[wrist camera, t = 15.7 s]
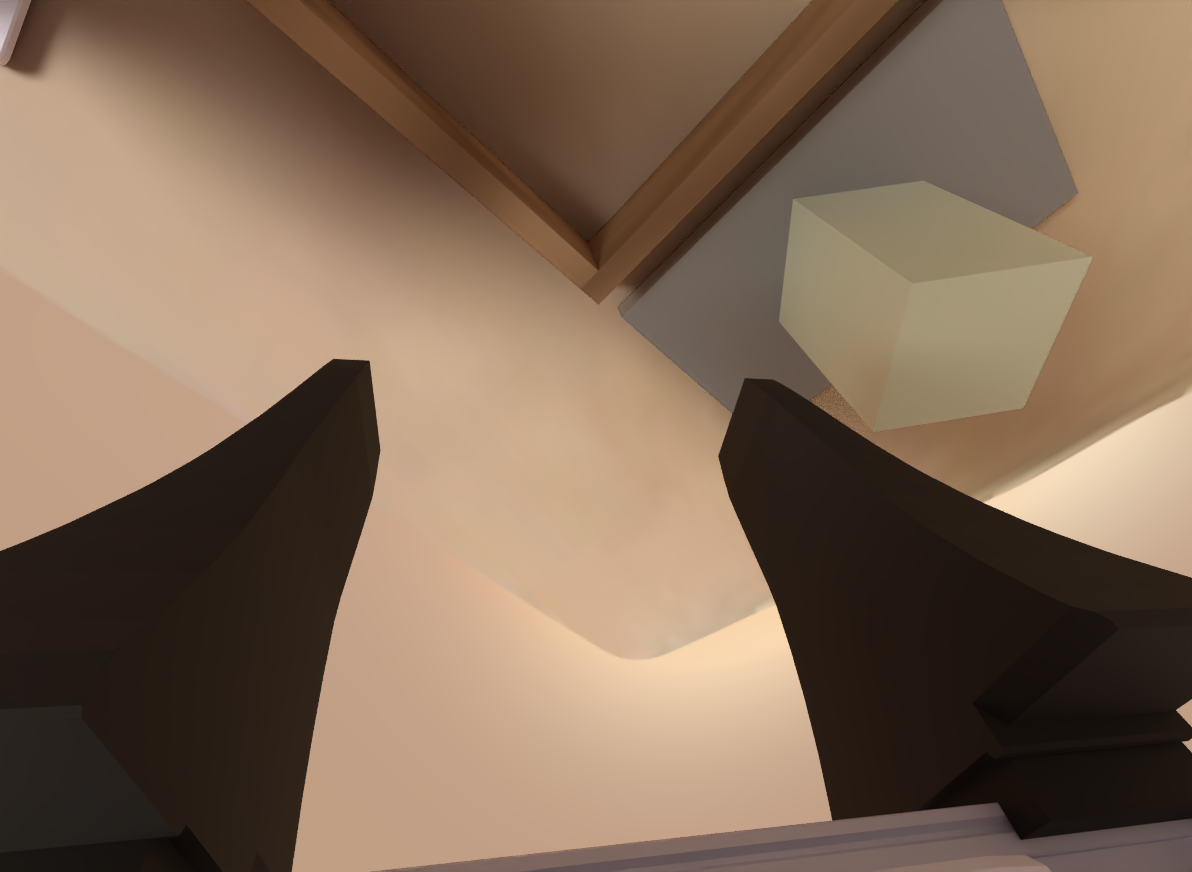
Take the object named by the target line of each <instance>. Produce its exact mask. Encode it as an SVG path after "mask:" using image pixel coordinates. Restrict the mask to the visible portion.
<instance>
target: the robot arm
mask: <svg viewBox="0 0 1192 872" xmlns="http://www.w3.org/2000/svg"><path fill="white" fill-rule="evenodd" d="M30 3H31V0H0V66H3V65H6V64H7V62H8V61H9V60H10V58H11V55H12V52H13V49H14V47H15V44H16V41H17V38H18V36H19V33H20V30H21V27H22V25H23V22H24V19H25V16H26V14H27V11H28V8H29V5H30ZM379 455H380V443H379V435H378V427H377V419H376V410H375V402H374V394H373V386H372V377H371V369H370V361H365V360H343V359H333V360H331V361H330V362H329V363H327V364H326V365H324V366H323V367H322V368H321V369H319V370H318V371H317V372H316V373H314V374H313V375H312V376H311V377H309V378H308V379H307V380H306V381H304V382H303V383H302V384H301V385H299V386H298V387H297V388H295V389H294V390H293V391H292V392H290V393H289V394H288V395H286V396H285V397H284V398H282V399H281V400H280V401H279V402H277V403H276V404H275V405H273V406H272V407H271V408H269V409H268V410H267V411H265V412H264V413H263V414H261V415H260V416H259V417H257V418H256V419H254V420H253V421H251V422H250V423H248V424H247V425H245V426H244V427H243V428H241V429H240V430H238V431H237V432H235V433H234V434H232V435H231V436H229V437H228V438H227V439H225V440H224V441H222V442H221V443H219V444H218V445H216V446H215V447H213V448H212V449H210V450H208V451H207V452H205V453H204V454H202V455H200V456H199V457H197V458H195V459H194V460H192V461H191V462H189V463H187V464H185V465H183V466H182V467H180V468H178V469H176V470H174V471H173V472H171V473H169V474H168V475H165V476H164V477H162V478H160V479H158V480H157V481H155V482H153V483H151V484H149V485H147V486H145V487H143V488H141V489H139V490H137V491H135V492H133V493H131V494H129V495H127V496H125V497H123V498H121V499H118V500H116V501H114V502H112V503H110V504H108V505H106V506H104V507H102V508H99V509H97V510H96V511H93V512H91V513H89V514H87V515H85V516H83V517H80V518H79V519H76V520H74V521H72V522H70V523H68V524H65V525H63V526H61V527H59V528H56V529H54V530H51V531H49V532H46V533H44V534H42V535H39V536H37V537H34V538H32V539H30V540H27V541H25V542H22V543H20V544H18V545H15V546H12V547H10V548H7V549H5V550H2V551H0V872H292V865H293V858H294V851H295V845H296V838H297V831H298V824H299V817H300V810H301V803H302V797H303V791H304V784H305V779H306V772H307V766H308V760H309V754H310V748H311V742H312V736H313V730H314V725H315V719H316V714H317V708H318V702H319V697H320V692H321V685H322V681H323V675H324V670H325V665H326V660H327V655H328V650H329V645H330V640H331V634H332V630H333V625H334V620H335V617H336V613H337V609H338V605H339V602H340V597H341V595H342V592H343V588H344V585H345V582H346V579H347V576H348V573H349V569H350V567H351V563H352V560H353V557H354V554H355V551H356V548H357V544H358V541H359V538H360V535H361V532H362V529H363V526H364V522H365V519H366V516H367V513H368V509H369V506H370V503H371V500H372V496H373V491H374V486H375V480H376V474H377V468H378V461H379ZM718 457H719V461H720V465H721V469H722V473H723V477H724V481H725V484H726V487H727V491H728V494H729V498H730V500H731V502H732V505H733V507H734V509H735V512H736V514H737V516H738V519H739V521H740V523H741V526H742V528H743V530H744V532H745V535H746V537H747V539H748V541H749V543H750V546H751V548H752V550H753V552H754V555H755V557H756V559H757V561H758V563H759V566H760V568H761V570H762V572H763V575H764V577H765V579H766V581H767V584H768V586H769V588H770V591H771V593H772V596H773V598H774V601H775V603H776V606H777V608H778V612H779V614H780V618H781V621H782V624H783V627H784V630H785V633H786V637H787V639H788V643H789V646H790V649H791V652H792V656H793V660H794V663H795V666H796V670H797V673H798V677H799V680H800V684H801V688H802V691H803V695H804V698H805V702H806V706H807V710H808V714H809V718H810V722H811V726H812V730H813V734H814V738H815V742H816V746H817V750H818V754H819V759H820V764H821V768H822V773H823V778H824V782H825V787H826V792H827V797H828V801H829V806H830V811H831V816H832V821H826V822H816V823H807V824H798V825H789V826H780V827H771V828H762V829H753V830H744V831H735V832H725V833H716V834H707V835H698V836H690V837H680V838H672V839H662V840H653V841H644V842H636V843H626V844H617V845H608V846H599V847H590V848H581V849H572V850H563V851H554V852H545V853H536V854H527V855H518V856H509V857H500V858H491V859H482V860H473V861H463V862H454V863H446V864H436V865H428V866H418V867H410V868H401V869H392V870H382V871H373V872H1192V753H1191V751H1190V750H1189V749H1188V748H1187V747H1186V746H1185V745H1184V744H1183V743H1182V741H1189V740H1190V739H1191V738H1192V727H1191V726H1190V725H1189V724H1188V723H1187V722H1186V721H1185V720H1184V718H1182V716H1181V715H1180V714H1179V713H1178V712H1177V711H1176V709H1178V708H1179V707H1181V706H1182V705H1184V704H1185V703H1187V702H1188V701H1189V700H1191V699H1192V578H1191V577H1187V576H1184V575H1181V574H1178V573H1174V572H1171V571H1168V570H1165V569H1161V568H1158V567H1155V566H1151V565H1148V564H1145V563H1141V562H1138V561H1135V560H1132V559H1129V558H1125V557H1122V556H1118V555H1116V554H1113V553H1110V552H1106V551H1104V550H1101V549H1098V548H1095V547H1092V546H1090V545H1087V544H1084V543H1081V542H1079V541H1076V540H1073V539H1070V538H1068V537H1065V536H1062V535H1059V534H1056V533H1054V532H1051V531H1049V530H1046V529H1044V528H1041V527H1038V526H1036V525H1034V524H1031V523H1029V522H1026V521H1024V520H1021V519H1019V518H1016V517H1015V516H1012V515H1010V514H1008V513H1005V512H1003V511H1001V510H998V509H996V508H993V507H991V506H989V505H987V504H984V503H982V502H980V501H978V500H976V499H974V498H972V497H970V496H967V495H965V494H963V493H961V492H959V491H957V490H955V489H954V488H952V487H950V486H948V485H946V484H944V483H942V482H940V481H938V480H936V479H934V478H932V477H930V476H928V475H926V474H924V473H923V472H921V471H919V470H917V469H915V468H914V467H912V466H910V465H908V464H907V463H905V462H903V461H902V460H900V459H898V458H897V457H895V456H893V455H892V454H890V453H888V452H887V451H885V450H883V449H882V448H880V447H878V446H877V445H875V444H874V443H872V442H870V441H869V440H867V439H866V438H864V437H863V436H861V435H859V434H858V433H856V432H855V431H853V430H852V429H850V428H849V427H847V426H846V425H844V424H843V423H841V422H840V421H838V420H837V419H835V418H834V417H832V416H831V415H829V414H828V413H826V412H825V411H823V410H822V409H820V408H819V407H817V406H816V405H814V404H813V403H811V402H810V401H808V400H807V399H805V398H804V397H802V396H801V395H799V394H798V393H796V392H794V391H793V390H791V389H789V388H788V387H786V386H784V385H783V384H781V383H779V382H777V381H775V380H773V379H754V378H745V379H744V382H743V385H742V388H741V391H740V394H739V397H738V399H737V402H736V405H735V408H734V411H733V414H732V417H731V420H730V423H729V426H728V429H727V432H726V435H725V438H724V441H723V444H722V447H721V450H720V453H719V456H718Z"/></svg>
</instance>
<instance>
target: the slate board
mask: <svg viewBox="0 0 1192 872" xmlns="http://www.w3.org/2000/svg"><path fill="white" fill-rule="evenodd" d="M917 181H926V182H928V183H930V184H932V185H935V186H937V187H939V188H941V189H943V190H946V191H948V192H950V193H952V194H955V195H957V196H959V197H961V198H964V199H966V200H968V201H970V202H973V203H975V204H977V205H979V206H981V207H984V208H986V209H988V210H990V211H993V212H995V213H997V214H999V215H1002V216H1004V217H1006V218H1008V219H1011V220H1013V221H1015V222H1017V223H1019V224H1022V225H1024V226H1026V227H1028V228H1031V229H1032V228H1033V227H1035V226H1036V225H1037V224H1038V223H1040V222H1041V221H1042V220H1044V219H1045V218H1046V217H1047V216H1049V215H1050V214H1051V213H1053V212H1054V211H1055V210H1057V209H1058V208H1059V207H1060V206H1062V205H1063V204H1064V203H1066V202H1067V201H1068V200H1069V199H1071V198H1072V197H1073V196H1075V195H1076V194H1077V193H1078V191H1077V189H1076V186H1075V184H1074V181H1073V179H1072V176H1071V174H1070V171H1069V169H1068V166H1067V164H1066V161H1065V159H1064V156H1063V154H1062V151H1061V149H1060V146H1059V144H1058V141H1057V139H1056V136H1055V133H1054V131H1053V128H1052V126H1051V123H1050V121H1049V118H1048V116H1047V113H1046V111H1045V108H1044V106H1043V103H1042V101H1041V98H1040V96H1039V93H1038V91H1037V88H1036V86H1035V83H1034V81H1033V78H1032V76H1031V73H1030V71H1029V68H1028V66H1027V63H1026V61H1025V58H1024V56H1023V53H1022V50H1021V48H1020V45H1019V43H1018V40H1017V38H1016V35H1015V33H1014V30H1013V28H1012V25H1011V23H1010V20H1009V18H1008V15H1007V13H1006V10H1005V8H1004V5H1003V3H1002V0H926V1H925V2H924V3H923V4H922V5H921V6H920V7H919V8H918V9H917V10H916V11H915V12H914V13H913V14H912V15H911V16H910V17H909V18H908V19H907V20H906V21H905V22H904V23H903V24H902V25H901V26H900V27H899V28H898V29H897V30H896V31H895V32H894V33H893V34H892V35H891V36H890V37H889V38H888V39H887V40H886V41H885V42H884V43H883V44H882V45H881V46H880V47H879V48H878V49H877V50H876V51H875V52H874V53H873V54H872V55H871V56H870V57H869V58H868V59H867V60H866V61H865V62H864V63H863V64H862V65H861V66H860V67H859V68H858V69H857V70H856V71H855V72H854V73H853V74H852V75H851V76H850V77H849V78H848V79H847V80H846V81H845V82H844V83H843V84H842V85H841V86H840V87H839V88H838V89H837V90H836V91H835V92H834V93H833V94H832V95H831V96H830V97H829V98H828V99H827V100H826V101H825V102H824V103H823V104H822V105H821V106H820V107H819V108H818V109H817V110H816V111H815V112H814V113H813V114H812V115H811V116H810V117H809V118H808V119H807V120H806V121H805V122H804V123H803V124H802V125H801V126H800V127H799V128H798V129H797V130H796V131H795V132H794V133H793V134H792V135H791V136H790V137H789V138H788V139H787V140H786V141H785V142H784V143H783V144H782V145H781V146H780V147H779V148H778V149H777V150H776V151H775V152H774V153H773V154H772V155H771V156H770V157H769V158H768V159H767V160H766V161H765V162H764V163H763V164H762V165H760V166H759V167H758V168H757V169H756V170H755V171H754V172H753V173H752V174H751V175H750V176H749V177H748V178H747V179H746V180H745V181H744V182H743V183H742V184H741V185H740V186H739V187H738V188H737V189H736V190H735V191H734V192H733V193H732V194H731V195H730V196H729V197H728V198H727V199H726V200H725V201H724V202H723V203H722V204H721V205H720V206H719V207H718V208H717V209H716V210H715V211H714V212H713V213H712V214H711V215H710V216H709V217H708V218H707V219H706V220H705V221H704V222H703V223H702V224H701V225H700V226H699V227H698V228H697V229H696V230H695V231H694V232H693V233H692V234H691V235H690V236H689V237H688V238H687V239H686V240H685V241H684V242H683V243H682V244H681V245H680V246H679V247H678V248H677V249H676V250H675V251H674V252H673V253H672V254H671V255H670V256H669V257H668V258H667V259H666V260H665V261H664V262H663V263H662V264H661V265H660V266H659V267H658V268H657V269H656V270H655V271H654V272H653V273H652V274H651V275H650V276H649V277H648V278H647V279H646V280H645V281H644V282H643V283H642V284H641V285H640V286H639V287H638V288H637V289H636V290H635V291H634V292H633V293H632V294H631V295H630V296H629V297H628V298H627V299H626V300H625V301H624V302H623V303H622V304H621V305H620V306H619V307H618V309H619V311H620V314H621V317H622V318H624V319H625V320H626V321H627V322H628V323H629V324H630V325H632V326H633V327H634V328H635V329H636V330H637V331H638V332H640V333H641V334H642V335H643V336H644V337H645V338H647V339H648V340H649V341H650V342H651V343H652V344H653V345H655V346H656V347H657V348H658V349H659V350H660V351H661V352H663V353H664V354H665V355H666V356H667V357H668V358H669V359H671V360H672V361H673V362H674V363H675V364H676V365H677V366H679V367H680V368H681V369H682V370H683V371H684V372H685V373H687V374H688V375H689V376H690V377H691V378H692V379H694V380H695V381H696V382H697V383H698V384H699V385H700V386H702V387H703V388H704V389H705V390H706V391H707V392H708V393H710V394H711V395H712V396H713V397H714V398H715V399H716V400H718V401H719V402H720V403H721V404H722V405H723V406H724V407H726V408H727V409H728V410H729V411H730V412H731V413H732V414H733V411H734V408H735V405H736V402H737V399H738V397H739V394H740V391H741V388H742V385H743V382H744V379H745V378H754V379H773V380H775V381H777V382H779V383H781V384H783V385H784V386H786V387H788V388H789V389H791V390H793V391H794V392H796V393H798V394H799V395H801V396H802V397H804V398H805V399H807V400H808V401H810V400H811V399H812V398H814V397H815V396H816V395H817V394H819V393H820V392H821V391H823V390H824V389H825V388H826V387H828V386H829V385H830V384H831V383H830V381H829V380H828V379H827V378H826V377H825V376H824V374H823V373H822V372H821V371H820V370H819V368H818V367H817V366H816V365H815V364H814V362H813V361H812V360H811V359H810V358H809V357H808V355H807V354H806V353H805V352H804V351H803V349H802V348H801V347H800V346H799V345H798V344H797V342H796V341H795V340H794V339H793V338H792V336H791V335H790V334H789V333H788V332H787V330H786V329H785V328H784V327H783V326H782V325H781V323H780V322H779V315H780V307H781V298H782V290H783V281H784V272H785V264H786V255H787V247H788V238H789V230H790V221H791V212H792V204H793V199H797V198H804V197H811V196H818V195H825V194H832V193H839V192H846V191H853V190H860V189H867V188H874V187H881V186H888V185H896V184H903V183H910V182H917Z"/></svg>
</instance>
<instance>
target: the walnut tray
mask: <svg viewBox="0 0 1192 872" xmlns="http://www.w3.org/2000/svg"><path fill="white" fill-rule="evenodd" d="M246 1H247V2H249V3H250V4H251V5H252V6H253V7H254V8H256V9H257V10H258V11H259V12H260V13H261V14H263V15H264V16H265V17H266V18H267V19H268V20H269V21H271V22H272V23H273V24H274V25H275V26H276V27H278V28H279V29H280V30H281V31H282V32H283V33H285V34H286V35H287V36H288V37H289V38H290V39H291V40H293V41H294V42H295V43H296V44H297V45H298V46H300V47H301V48H302V49H303V50H304V51H305V52H307V53H308V54H309V55H310V56H311V57H312V58H314V59H315V60H316V61H317V62H318V63H319V64H320V65H322V66H323V67H324V68H325V69H326V70H327V71H329V72H330V73H331V74H332V75H333V76H334V77H336V78H337V79H338V80H339V81H340V82H341V83H342V84H344V85H345V86H346V87H347V88H348V89H349V90H351V91H352V92H353V93H354V94H355V95H356V96H358V97H359V98H360V99H361V100H362V101H363V102H365V103H366V104H367V105H368V106H369V107H370V108H371V109H373V110H374V111H375V112H376V113H377V114H378V115H380V116H381V117H382V118H383V119H384V120H385V121H387V122H388V123H389V124H390V125H391V126H392V127H394V128H395V129H396V130H397V131H398V132H399V133H400V134H402V135H403V136H404V137H405V138H406V139H407V140H409V141H410V142H411V143H412V144H413V145H414V146H416V147H417V148H418V149H419V150H420V151H421V152H422V153H424V154H425V155H426V156H427V157H428V158H429V159H431V160H432V161H433V162H434V163H435V164H436V165H438V166H439V167H440V168H441V169H442V170H443V171H445V172H446V173H447V174H448V175H449V176H450V177H451V178H453V179H454V180H455V181H456V182H457V183H458V184H460V185H461V186H462V187H463V188H464V189H465V190H467V191H468V192H469V193H470V194H471V195H472V196H473V197H475V198H476V199H477V200H478V201H479V202H480V203H482V204H483V205H484V206H485V207H486V208H487V209H489V210H490V211H491V212H492V213H493V214H494V215H496V216H497V217H498V218H499V219H500V220H501V221H502V222H504V223H505V224H506V225H507V226H508V227H509V228H511V229H512V230H513V231H514V232H515V233H516V234H518V235H519V236H520V237H521V238H522V239H523V240H525V241H526V242H527V243H528V244H529V245H530V246H531V247H533V248H534V249H535V250H536V251H537V252H538V253H540V254H541V255H542V256H543V257H544V258H545V259H547V260H548V261H549V262H550V263H551V264H552V265H553V266H555V267H556V268H557V269H558V270H559V271H560V272H562V273H563V274H564V275H565V276H566V277H567V278H569V279H570V280H571V281H572V282H573V283H574V284H576V285H577V286H578V287H579V288H580V289H581V290H582V291H584V292H585V293H586V294H587V295H588V296H589V297H591V298H592V299H593V300H594V301H595V302H596V303H598V304H600V303H601V302H602V301H603V300H604V299H605V298H606V297H607V296H608V295H609V293H610V292H611V291H612V290H613V289H614V288H615V287H616V286H617V285H618V284H619V283H620V282H621V281H622V280H623V279H624V278H625V277H626V276H627V275H628V274H629V273H630V272H631V271H632V270H633V269H634V268H635V267H636V266H637V265H638V264H639V263H640V262H641V261H642V260H643V259H644V258H645V257H646V256H647V255H648V254H649V253H650V252H651V251H652V250H653V249H654V248H655V247H656V246H657V245H658V244H659V243H660V242H661V241H662V240H663V239H664V238H665V237H666V236H667V235H668V234H669V233H670V232H671V231H672V230H673V229H674V228H675V227H676V225H677V224H678V223H679V222H680V221H681V220H682V219H683V218H684V217H685V216H686V215H687V214H688V213H689V212H690V211H691V210H692V209H693V208H694V207H695V206H696V205H697V204H698V203H699V202H700V201H701V200H702V199H703V198H704V197H705V196H706V195H707V194H708V193H709V192H710V191H711V190H712V189H713V188H714V187H715V186H716V185H717V184H718V183H719V182H720V181H721V180H722V179H723V178H724V177H725V176H726V175H727V174H728V173H729V172H730V171H731V170H732V169H733V168H734V167H735V166H736V165H737V164H738V163H739V162H740V161H741V160H742V159H743V157H744V156H745V155H746V154H747V153H748V152H749V151H750V150H751V149H752V148H753V147H754V146H755V145H756V144H757V143H758V142H759V141H760V140H761V139H762V138H763V137H764V136H765V135H766V134H767V133H768V132H769V131H770V130H771V129H772V128H773V127H774V126H775V125H776V124H777V123H778V122H779V121H780V120H781V119H782V118H783V117H784V116H785V115H786V114H787V113H788V112H789V111H790V110H791V109H792V108H793V107H794V106H795V105H796V104H797V103H798V102H799V101H800V100H801V99H802V98H803V97H804V96H805V95H806V94H807V93H808V92H809V90H810V89H811V88H812V87H813V86H814V85H815V84H816V83H817V82H818V81H819V80H820V79H821V78H822V77H823V76H824V75H825V74H826V73H827V72H828V71H829V70H830V69H831V68H832V67H833V66H834V65H835V64H836V63H837V62H838V61H839V60H840V59H841V58H842V57H843V56H844V55H845V54H846V53H847V52H848V51H849V50H850V49H851V48H852V47H853V46H854V45H855V44H856V43H857V42H858V41H859V40H860V39H861V38H862V37H863V36H864V35H865V34H866V33H867V32H868V31H869V30H870V29H871V28H872V27H873V26H874V25H875V24H876V22H877V21H878V20H879V19H880V18H881V17H882V16H883V15H884V14H885V13H886V12H887V11H888V10H889V9H890V8H891V7H892V6H893V5H894V4H895V3H896V2H897V1H898V0H813V1H812V2H811V3H810V4H809V5H808V6H807V7H806V8H805V9H804V10H803V12H802V13H801V14H800V15H799V16H798V17H797V18H796V19H795V20H794V21H793V22H792V23H791V25H790V26H789V27H788V28H787V29H786V30H785V31H784V32H783V33H782V34H781V35H780V36H779V38H778V39H777V40H776V41H775V42H774V43H773V44H772V45H771V46H770V47H769V48H768V49H767V51H766V52H765V53H764V54H763V55H762V56H761V57H760V58H759V59H758V60H757V61H756V62H755V63H754V65H753V66H752V67H751V68H750V69H749V70H748V71H747V72H746V73H745V74H744V75H743V76H742V78H741V79H740V80H739V81H738V82H737V83H736V84H735V85H734V86H733V87H732V88H731V89H730V91H729V92H728V93H727V94H726V95H725V96H724V97H723V98H722V99H721V100H720V101H719V102H718V104H717V105H716V106H715V107H714V108H713V109H712V110H711V111H710V112H709V113H708V114H707V115H706V117H705V118H704V119H703V120H702V121H701V122H700V123H699V124H698V125H697V126H696V127H695V128H694V130H693V131H692V132H691V133H690V134H689V135H688V136H687V137H686V138H685V139H684V140H683V141H682V142H681V144H680V145H679V146H678V147H677V148H676V149H675V150H674V151H673V152H672V153H671V154H670V155H669V157H668V158H667V159H666V160H665V161H664V162H663V163H662V164H661V165H660V166H659V167H658V168H657V170H656V171H655V172H654V173H653V174H652V175H651V176H650V177H649V178H648V179H647V180H646V181H645V183H644V184H643V185H642V186H641V187H640V188H639V189H638V190H637V191H636V192H635V193H634V194H633V196H632V197H631V198H630V199H629V200H628V201H627V202H626V203H625V204H624V205H623V206H622V207H621V209H620V210H619V211H618V212H617V213H616V214H615V215H614V216H613V217H612V218H611V219H610V220H609V222H608V223H607V224H606V225H605V226H604V227H603V228H602V229H601V230H600V231H599V232H598V233H597V234H596V236H595V237H594V238H593V239H592V240H591V241H590V242H589V243H588V242H587V241H586V240H585V239H584V238H583V237H582V236H581V235H579V234H578V233H577V232H576V231H575V230H574V229H573V228H572V227H571V226H570V225H569V224H568V223H567V222H565V221H564V220H563V219H562V218H561V217H560V216H559V215H558V214H557V213H556V212H555V211H554V210H553V209H551V208H550V207H549V206H548V205H547V204H546V203H545V202H544V201H543V200H542V199H541V198H540V197H539V196H537V195H536V194H535V193H534V192H533V191H532V190H531V189H530V188H529V187H528V186H527V185H526V184H525V183H523V182H522V181H521V180H520V179H519V178H518V177H517V176H516V175H515V174H514V173H513V172H512V171H510V170H509V169H508V168H507V167H506V166H505V165H504V164H503V163H502V162H501V161H500V160H499V159H498V158H496V157H495V156H494V155H493V154H492V153H491V152H490V151H489V150H488V149H487V148H486V147H485V146H484V145H482V144H481V143H480V142H479V141H478V140H477V139H476V138H475V137H474V136H473V135H472V134H471V133H470V132H468V131H467V130H466V129H465V128H464V127H463V126H462V125H461V124H460V123H459V122H458V121H457V120H456V119H454V118H453V117H452V116H451V115H450V114H449V113H448V112H447V111H446V110H445V109H444V108H443V107H442V106H440V105H439V104H438V103H437V102H436V101H435V100H434V99H433V98H432V97H431V96H430V95H429V94H428V93H426V92H425V91H424V90H423V89H422V88H421V87H420V86H419V85H418V84H417V83H416V82H415V81H414V80H412V79H411V78H410V77H409V76H408V75H407V74H406V73H405V72H404V71H403V70H402V69H401V68H400V67H398V66H397V65H396V64H395V63H394V62H393V61H392V60H391V59H390V58H389V57H388V56H387V55H386V54H384V53H383V52H382V51H381V50H380V49H379V48H378V47H377V46H376V45H375V44H374V43H373V42H371V41H370V40H369V39H368V38H367V37H366V36H365V35H364V34H363V33H362V32H361V31H360V30H359V29H357V28H356V27H355V26H354V25H353V24H352V23H351V22H350V21H349V20H348V19H347V18H346V17H345V16H343V15H342V14H341V13H340V12H339V11H338V10H337V9H336V8H335V7H334V6H333V5H332V4H331V3H329V2H328V1H327V0H246Z"/></svg>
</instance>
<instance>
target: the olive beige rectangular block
mask: <svg viewBox="0 0 1192 872" xmlns="http://www.w3.org/2000/svg"><path fill="white" fill-rule="evenodd" d="M1092 259H1093V256H1091V255H1089V254H1087V253H1084V252H1082V251H1080V250H1078V249H1075V248H1073V247H1071V246H1069V245H1066V244H1064V243H1062V242H1060V241H1057V240H1055V239H1053V238H1051V237H1049V236H1046V235H1044V234H1042V233H1040V232H1037V231H1035V230H1033V229H1031V228H1028V227H1026V226H1024V225H1022V224H1019V223H1017V222H1015V221H1013V220H1011V219H1008V218H1006V217H1004V216H1002V215H999V214H997V213H995V212H993V211H990V210H988V209H986V208H984V207H981V206H979V205H977V204H975V203H973V202H970V201H968V200H966V199H964V198H961V197H959V196H957V195H955V194H952V193H950V192H948V191H946V190H943V189H941V188H939V187H937V186H935V185H932V184H930V183H928V182H926V181H917V182H910V183H903V184H896V185H888V186H881V187H874V188H867V189H860V190H853V191H846V192H839V193H832V194H825V195H818V196H811V197H804V198H797V199H793V204H792V212H791V221H790V230H789V238H788V247H787V255H786V264H785V272H784V281H783V290H782V298H781V307H780V315H779V322H780V323H781V325H782V326H783V327H784V328H785V329H786V330H787V332H788V333H789V334H790V335H791V336H792V338H793V339H794V340H795V341H796V342H797V344H798V345H799V346H800V347H801V348H802V349H803V351H804V352H805V353H806V354H807V355H808V357H809V358H810V359H811V360H812V361H813V362H814V364H815V365H816V366H817V367H818V368H819V370H820V371H821V372H822V373H823V374H824V376H825V377H826V378H827V379H828V380H829V381H830V383H831V384H832V385H833V386H834V387H835V389H836V390H837V391H838V392H839V393H840V394H841V396H842V397H843V398H844V399H845V400H846V402H847V403H848V404H849V405H850V406H851V408H852V409H853V410H854V411H855V412H856V413H857V415H858V416H859V417H860V418H861V419H862V421H863V422H864V423H865V424H866V425H867V426H868V428H869V429H870V430H871V431H872V432H873V433H874V432H880V431H886V430H892V429H899V428H905V427H911V426H917V425H923V424H930V423H936V422H942V421H948V420H954V419H961V418H967V417H973V416H979V415H985V414H992V413H998V412H1004V411H1010V410H1016V409H1023V408H1024V406H1025V404H1026V401H1027V399H1028V397H1029V395H1030V393H1031V391H1032V388H1033V386H1034V384H1035V382H1036V380H1037V378H1038V376H1039V373H1040V371H1041V369H1042V367H1043V365H1044V363H1045V360H1046V358H1047V356H1048V354H1049V352H1050V350H1051V347H1052V345H1053V343H1054V341H1055V339H1056V337H1057V334H1058V332H1059V330H1060V328H1061V326H1062V324H1063V321H1064V319H1065V317H1066V315H1067V313H1068V311H1069V308H1070V306H1071V304H1072V302H1073V300H1074V298H1075V295H1076V293H1077V291H1078V289H1079V287H1080V285H1081V282H1082V280H1083V278H1084V276H1085V274H1086V272H1087V269H1088V267H1089V265H1090V263H1091V261H1092Z"/></svg>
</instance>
